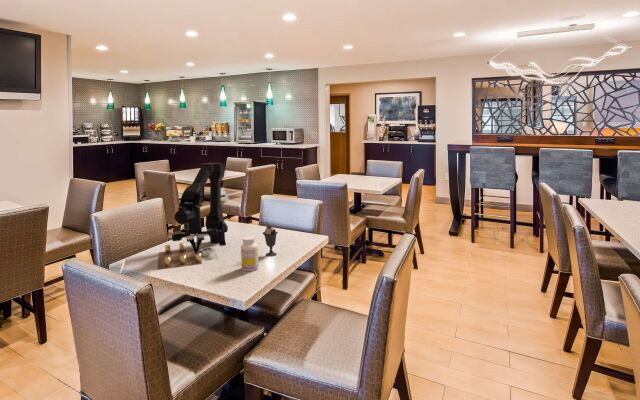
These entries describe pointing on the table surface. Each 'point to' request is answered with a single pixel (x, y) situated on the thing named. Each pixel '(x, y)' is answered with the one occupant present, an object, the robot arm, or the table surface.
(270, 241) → the sundae
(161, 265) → the board
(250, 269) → the supplement bottle
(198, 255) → the spacers
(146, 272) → the table surface
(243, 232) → the table surface
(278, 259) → the table surface
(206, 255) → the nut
